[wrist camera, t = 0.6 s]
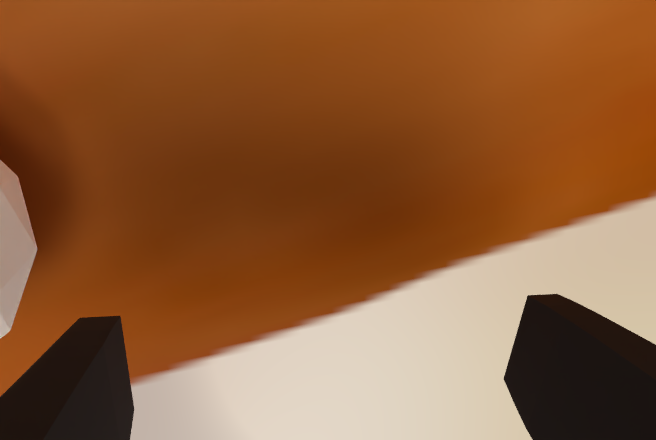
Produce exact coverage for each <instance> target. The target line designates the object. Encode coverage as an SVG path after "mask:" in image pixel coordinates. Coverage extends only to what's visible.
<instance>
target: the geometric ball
mask: <svg viewBox="0 0 656 440" xmlns="http://www.w3.org/2000/svg"><path fill="white" fill-rule="evenodd" d="M36 252H37V245H36V242H35V238H34V234H33V230H32V227H31V223H30V219H29V216H28V212H27V208H26V204H25V201H24V197H23V193H22V189H21V186H20V182H19V178H18V176H17V175H16V174H15V173H14V172H13V171H12V170H11V169H10V168H9V167H8V166H6V165H5V164H4V163H3V162H2V161H1V160H0V338H2V337H3V336H4V335H5V334H7V333H8V332H9V331H10V330H11V327H12V324H13V321H14V318H15V315H16V312H17V309H18V306H19V303H20V300H21V297H22V294H23V291H24V288H25V285H26V282H27V279H28V276H29V273H30V270H31V267H32V264H33V261H34V258H35V255H36Z"/></svg>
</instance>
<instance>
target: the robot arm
mask: <svg viewBox="0 0 656 440" xmlns="http://www.w3.org/2000/svg"><path fill="white" fill-rule="evenodd" d="M504 381H505V383H506V385H507V387H508V390H509V392H510V394H511V397H512V399H513V401H514V403H515V406H516V408H517V410H518V412H519V414H520V416H521V419H522V420H523V423H524V425H525V427H526V429H527V431H528V432H529V434H530V436H531V437H532V439H533V440H656V345H655V344H653V343H651V342H650V341H648V340H646V339H644V338H642V337H640V336H638V335H637V334H635V333H633V332H631V331H629V330H627V329H626V328H624V327H622V326H620V325H618V324H616V323H615V322H613V321H611V320H609V319H607V318H605V317H603V316H601V315H600V314H597V313H596V312H594V311H592V310H590V309H588V308H586V307H584V306H582V305H580V304H578V303H576V302H574V301H572V300H570V299H567V298H565V297H563V296H561V295H558V294H550V295H530V296H529V295H528V296H527V300H526V304H525V307H524V310H523V314H522V317H521V321H520V324H519V327H518V331H517V334H516V338H515V341H514V345H513V348H512V352H511V355H510V359H509V362H508V366H507V369H506V373H505V376H504ZM133 413H134V406H133V398H132V391H131V385H130V378H129V371H128V364H127V358H126V351H125V344H124V337H123V331H122V324H121V317H120V316H108V317H88V318H79V319H78V320H77V321H76V322H75V323H74V324H73V325H72V326H71V327H70V328H69V329H68V330H67V331H66V332H65V333H64V334H63V335H62V336H61V337H60V338H59V339H58V340H57V341H56V342H55V343H54V344H53V345H52V346H51V347H50V348H49V349H48V350H47V351H46V352H45V353H44V354H43V355H42V356H41V357H40V358H39V359H38V360H37V361H36V362H35V363H34V364H33V365H32V366H31V367H30V368H29V369H28V370H27V371H26V372H25V373H24V374H23V375H22V376H21V377H20V378H19V379H18V380H17V381H16V382H15V383H14V384H13V385H12V386H11V387H10V388H9V389H8V390H7V391H6V392H5V393H4V394H3V395H2V396H1V397H0V440H130V434H131V428H132V421H133Z"/></svg>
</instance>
